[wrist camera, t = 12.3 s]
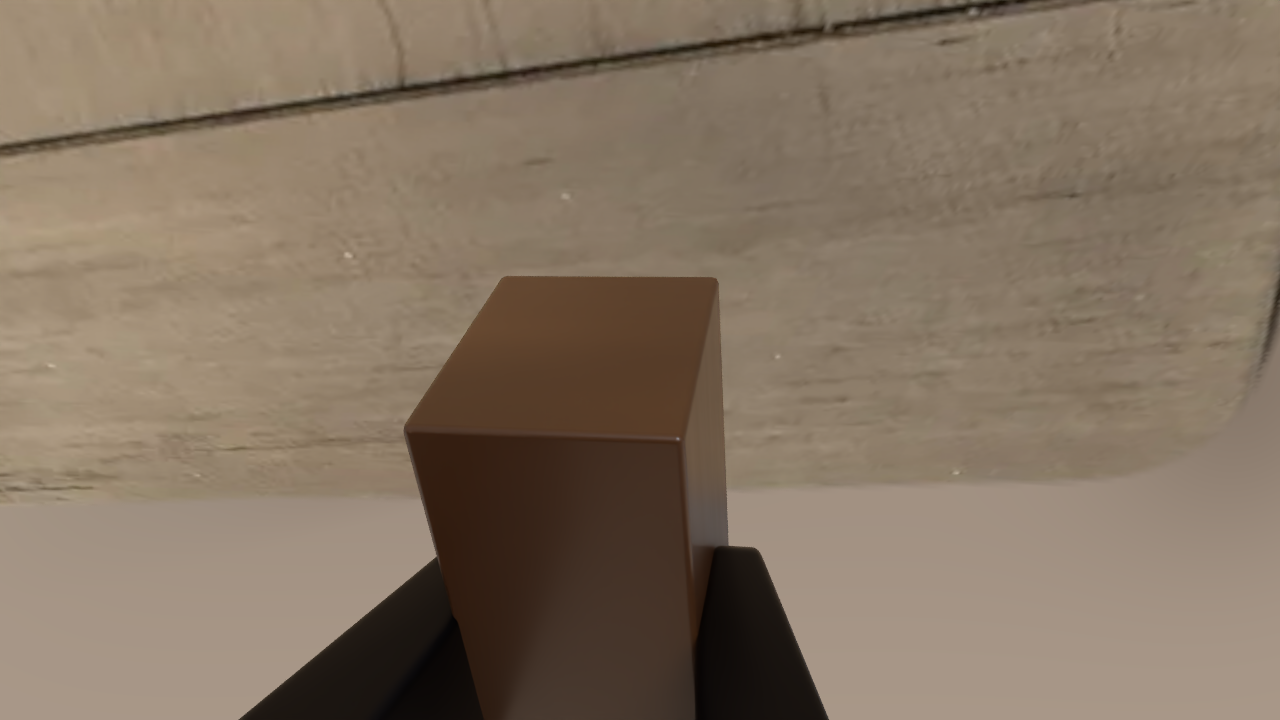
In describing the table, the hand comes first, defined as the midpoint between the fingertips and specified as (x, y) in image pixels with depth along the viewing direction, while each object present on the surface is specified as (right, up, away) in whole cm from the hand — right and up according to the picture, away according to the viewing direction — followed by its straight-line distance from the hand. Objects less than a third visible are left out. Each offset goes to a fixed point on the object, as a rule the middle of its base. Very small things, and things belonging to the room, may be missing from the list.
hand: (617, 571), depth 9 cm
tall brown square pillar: (0, +1, +1) cm, 1 cm away
